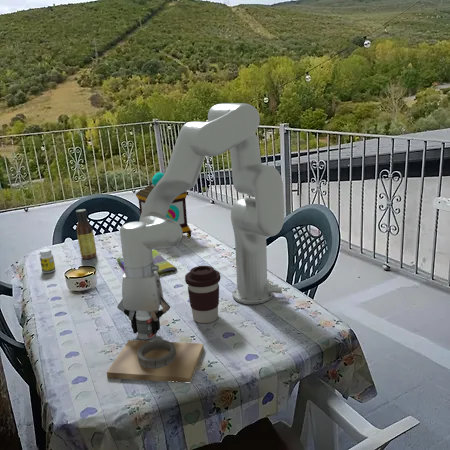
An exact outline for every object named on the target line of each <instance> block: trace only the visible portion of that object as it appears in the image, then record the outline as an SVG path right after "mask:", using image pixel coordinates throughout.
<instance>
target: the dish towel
mask: <svg viewBox="0 0 450 450" xmlns="http://www.w3.org/2000/svg"><path fill="white" fill-rule="evenodd" d="M152 255H153V262H154V264H155V265H158V266H159V270H158V271H157V272H158V275H159V277H160V276H163V275H168V274H169V275H170V274H174V273H177V271H178V268H177V267H176V266H175V265H173V264H171V262H169V261H168V260H167V259H165V257H164V256H162V255H161V254H160V253H159V251H158V250H157V249H152ZM116 261H117V263H118V265H119V266H120V268H121V270H122V271H123V272H124V273H125V270H124V262H123V257H118V258H116Z"/></svg>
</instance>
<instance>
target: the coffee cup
mask: <svg viewBox="0 0 450 450" xmlns="http://www.w3.org/2000/svg"><path fill="white" fill-rule="evenodd" d="M184 279H185V280H184V282H185V284H187V292H188V293H187V294H188V298H189V304H190V308H191V313H192V318H193V320H194V321H195V322H197V323H198V324H209V323H210V324H211V323H212V322H214V321H216V320H217V319H218V317H219V304H220V284H219V282H220V281H221V273H220V271H218V270H216V269H215V268H214V267H213V266H210V265H197V266H194V267H192V268H191V269H190V270H189V271H188V272H187V273H186V274H185V276H184Z"/></svg>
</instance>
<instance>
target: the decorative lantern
mask: <svg viewBox="0 0 450 450" xmlns="http://www.w3.org/2000/svg"><path fill="white" fill-rule="evenodd" d="M164 174H165V173H163V172H161V171H159V172H156V173H155V174H154V175H153V177H152V178H151V182H150V183H149V185H147V186H146V187H144V188H142V189H139V191H137V192H136V193H135V196H136V198H137V199H138V207H139V215H140V216H141V213H142V210H143V207H144V204H145V202H146V199H147V197H148V195H149V194H150V192H151V191H152V190H153V188H154V187H155V186H156V184H157V183H158V182H159V181H160V180H161V178H162V177H163V176H164ZM187 195H188V192H187V191H186V192H184V193H182V194H180V195H179V196H177V197H176V198H175V199H174V201H173V202H172V203H171V205H170V207H169V209H168V212H167V215H166V217H167V218H170V219H172V220H174V221H176V222H177V223H178V224H179V225H180V226H181V228H182V231H183V234H186V235H187V238H189V237H190V238H191V237H192V230H191V228H190V227H189V225H188V217H187V215H188V213H187V203H186V198H187Z"/></svg>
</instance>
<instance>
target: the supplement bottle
mask: <svg viewBox="0 0 450 450" xmlns="http://www.w3.org/2000/svg"><path fill="white" fill-rule="evenodd" d="M39 255H40V256H39V261H40V265H41V266H40V267H41V271H42V273H43V274H49V273H50V274H51V273H52V272H55V271H56V266H55V259H54V254H53V251H52V249H51V248H43V249H41V250H39Z"/></svg>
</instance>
